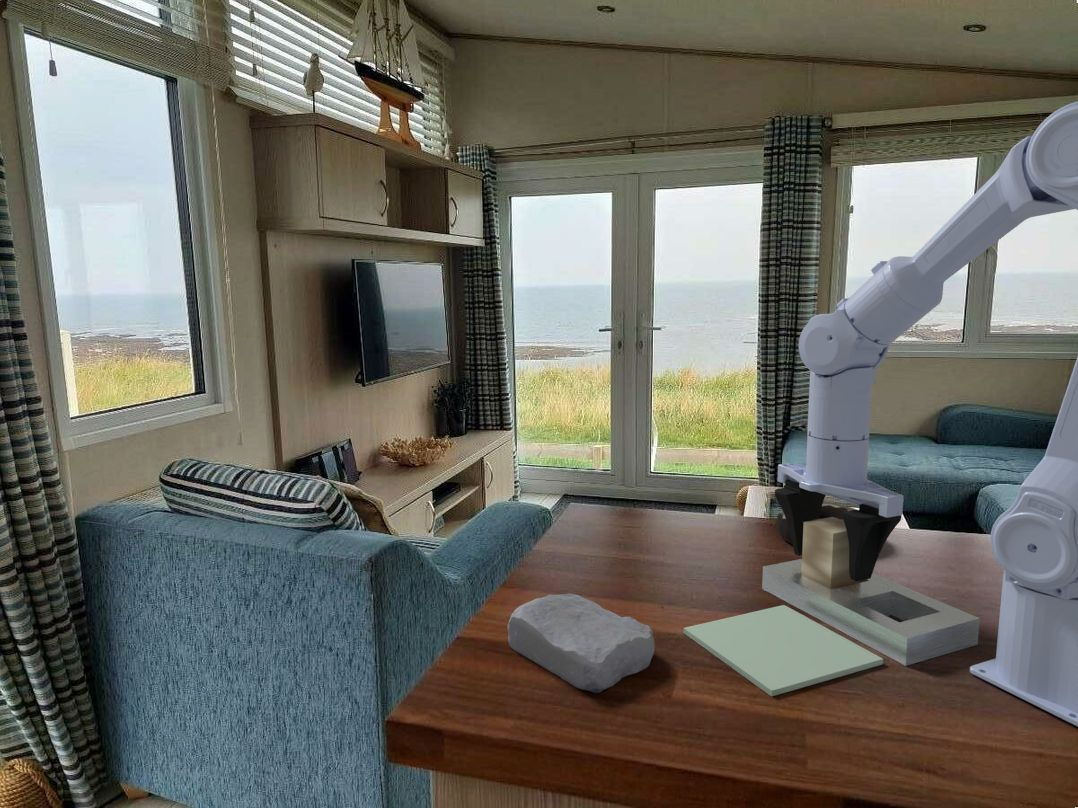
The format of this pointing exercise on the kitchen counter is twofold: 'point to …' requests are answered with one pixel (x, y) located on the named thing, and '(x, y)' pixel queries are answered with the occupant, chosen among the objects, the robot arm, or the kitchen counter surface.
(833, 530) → the peg
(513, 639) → the stone block
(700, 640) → the mat
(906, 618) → the rail
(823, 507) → the donut
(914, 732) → the kitchen counter surface
